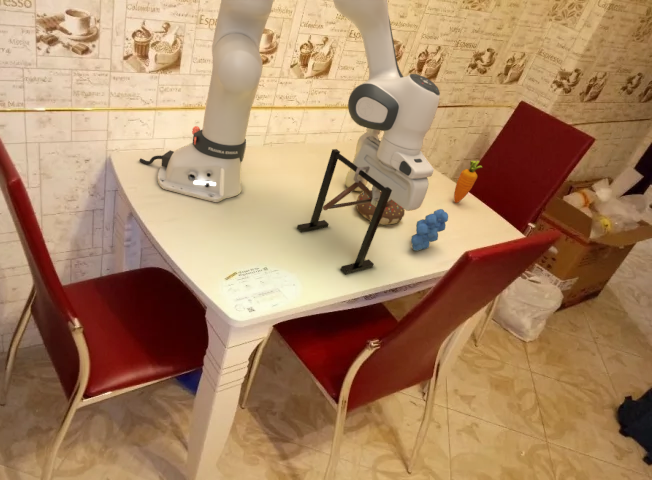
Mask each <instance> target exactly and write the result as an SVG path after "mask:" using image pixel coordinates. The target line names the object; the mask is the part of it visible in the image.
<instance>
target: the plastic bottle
mask: <svg viewBox="0 0 652 480" xmlns="http://www.w3.org/2000/svg"><path fill="white" fill-rule="evenodd" d="M365 131H366V132H364V133H363V134H362V135H360V136H359V138H358V139H357V141H356V147H355V153H354V157H353V160H352V163H353V164H354V161H355V159H356V156H357V154H358V152H359V150H360V149H361V147H362V145H363V142H364V139H365V138H366V137H369V136H374V137H375V138H376V139H377V140H379V141H380V138H379V135H380V133H381V130H374V129H370V128H366V129H365ZM355 173H356V172H355V171H353V170H352V169H351V168H349V171H348V172H347V173H346V176H345V179H344V184H345V186H346V188H348V187H350V186H351V185H352V184H354V183H355V181H354V176H355ZM357 179H358V180H359V181H361V182H362V183H363V184H364V185H365V186H366V187H367V185H368V181H367V180H365V179H364V178H363V177H361V176H360V175H359V174H358V177H357ZM353 191H355V192H363V191H362V190H361V189H360V188H359V187H357V188H356V189H355V190H353Z"/></svg>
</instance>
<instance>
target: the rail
mask: <svg viewBox="0 0 652 480" xmlns="http://www.w3.org/2000/svg"><path fill="white" fill-rule="evenodd" d="M338 160H339V161H340V162H341V163H343V164H344V165H345V166H347V168H349V169H350V168H351V169H352V170H353V171H355V172H356V170H357V168H358V167H357V166H356V165H354V164H353V161H350V160H349V159H348V158H346V157H345V156H344V155H342V154H341V151H340V150H338V148H333V149H331V152H330V156H329V159H328V162H327V165H326V168H325V171H324V176H323V178H322V183H321V185H320V188H319V192H318V195H317V198H316V202H315V205H314V207H313V212H312V215H311V219H310V222H306V223H300V224H297V226H296V230H297V231H299V232H300V233H301V234H302V233H307V232H311V231H318V230H322V229H327V228H329V225H330V224H329V222H328V221H326V220H325V219H322V220H320V217H321V215H322V211H323V206H324V205H325V202H326V198H327V195H328V192H329V189H330V185H331V182H332V179H333V176H334V173H335V170H336V165H337V163H338ZM359 175H360V176H361V177H363V178H364V179H365V180H367V183H369V184H370V185H372V187H373V186H374V187H376V188H377V189H378V190H380V192H382V193H381V196H380V198H379V201H378V203H377V206H376V209H375V211H374V214H373V216H372V219H371V221H369V225H368V227H367V230H366V231H365V234H364V237H363V240H362V243H361V245H360V248H359V251H358V253H357V256H356V258H355V261H354V262H352V263H349V264H344V265H341V267H340V269H339V270H340V272H341V273H342V274H344V275H345V276H347V275H351V274H355V273H359V272H362V271H366V270H369V269H373V268H374V266H375V263H374V262H373V261H371V260H370V259H366V258H367V255H368V253H369V250H370V247H371V244H372V242H373V240H374V237H375V235H376V232H377V230H378V227H379V225H380V224H379V222H380V220H381V217H382V215H383V212H384V210H385V207H386V205H387V202H388V199H389V197H390V194H391V192H392V190H391V189H390V188H389V187H384V186H383V185H381V184H380V183H379V182H377V181H376V180H375V179H373V178H372V177H371V176H369V175H368V174H366V173H365V172H364V171H362V170H360V171H359Z"/></svg>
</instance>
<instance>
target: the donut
mask: <svg viewBox="0 0 652 480" xmlns="http://www.w3.org/2000/svg"><path fill="white" fill-rule="evenodd" d="M369 190H370V191H371V192H372V189H369ZM381 193H382V192H381V191H380V196H381ZM366 199H371V198H370V197H369V196H368V195H367V194H366V193H365V192H363V191H361V192H360V193H359V194H358V197H357V199H356V200H355V201H360V200H366ZM375 209H376V207H375V206H374V205H372V204H371V202H369V203H363V204H357V205H356V210H357V211H358V213H360V214H361V216H362V217H364V218H365V219H366V220H368V221H369V222H371V219H372V216H373V214H374V211H375ZM405 211H406V210H405V209H404V208H402V207H401V206H400V205H398V204H397V203H396V202H394V201H393V200H392V199H391V200H390V201H388V202H387V205H386V207H385V210H384V212H383V215H382V217H381V220H380V222H379V225H384V226H385V225H387V226H388V225H393V224H398V223H400V222H401V221H402V220H403V218H404V216H405Z"/></svg>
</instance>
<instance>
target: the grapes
mask: <svg viewBox="0 0 652 480" xmlns="http://www.w3.org/2000/svg"><path fill="white" fill-rule="evenodd" d="M448 221H449V214H448V213H447V211H445V210H444V209H443V208H439V209H436V210H434V211H433V213H430V214H427V215H425V217H424V219H420V220H418V221H416V223H415V225H416V228H415V232H416V234H413V235H411V238H410V242H411V248H412V251H414V252H417V251H420V250H427V249H429V248H430V243H434V242H436V241H438V239H439V233H440V232H443V231H445V230H446V223H447V222H448Z"/></svg>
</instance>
